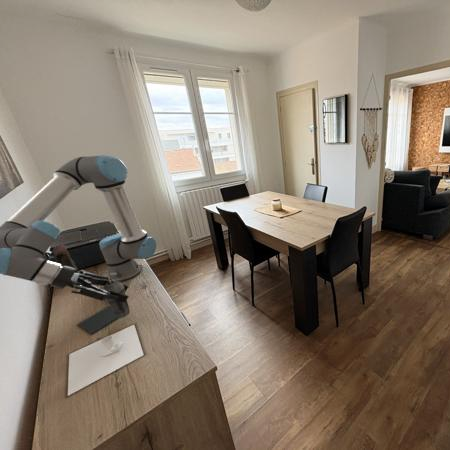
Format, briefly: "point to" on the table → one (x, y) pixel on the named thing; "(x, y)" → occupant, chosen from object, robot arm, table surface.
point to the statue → (64, 257)
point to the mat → (98, 320)
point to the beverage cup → (117, 306)
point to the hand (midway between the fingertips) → (126, 294)
